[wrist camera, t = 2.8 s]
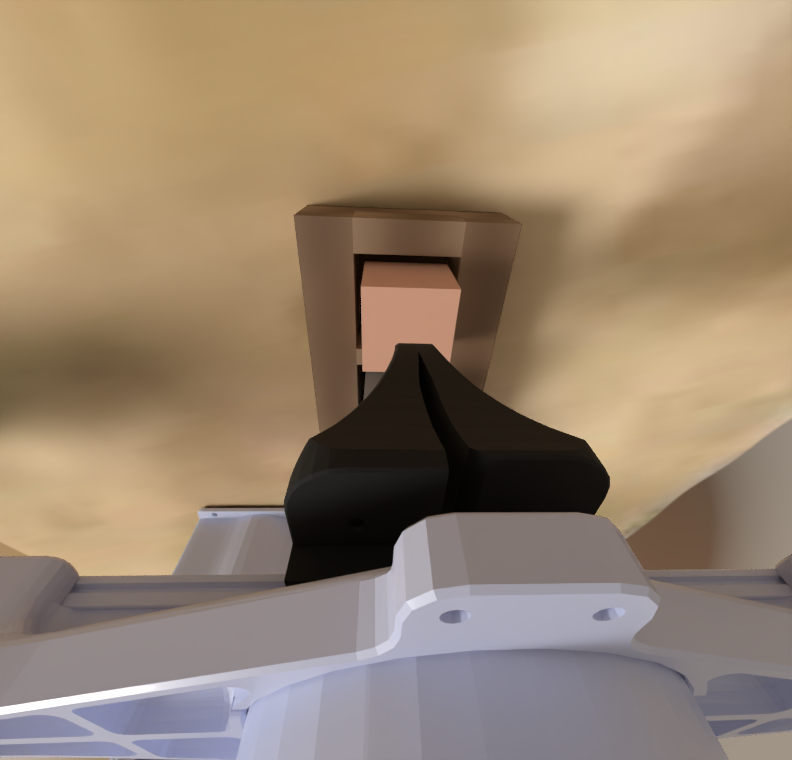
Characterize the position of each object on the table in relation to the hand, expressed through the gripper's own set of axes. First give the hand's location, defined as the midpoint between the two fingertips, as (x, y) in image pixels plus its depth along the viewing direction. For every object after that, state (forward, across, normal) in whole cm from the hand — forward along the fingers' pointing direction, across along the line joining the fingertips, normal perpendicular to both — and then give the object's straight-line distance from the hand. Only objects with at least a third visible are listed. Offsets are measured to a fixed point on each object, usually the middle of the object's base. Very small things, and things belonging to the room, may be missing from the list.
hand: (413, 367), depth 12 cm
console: (+9, 0, +6) cm, 11 cm away
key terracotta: (+6, 0, 0) cm, 6 cm away
